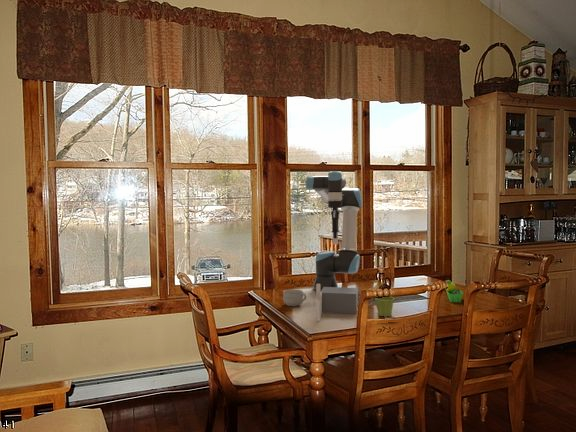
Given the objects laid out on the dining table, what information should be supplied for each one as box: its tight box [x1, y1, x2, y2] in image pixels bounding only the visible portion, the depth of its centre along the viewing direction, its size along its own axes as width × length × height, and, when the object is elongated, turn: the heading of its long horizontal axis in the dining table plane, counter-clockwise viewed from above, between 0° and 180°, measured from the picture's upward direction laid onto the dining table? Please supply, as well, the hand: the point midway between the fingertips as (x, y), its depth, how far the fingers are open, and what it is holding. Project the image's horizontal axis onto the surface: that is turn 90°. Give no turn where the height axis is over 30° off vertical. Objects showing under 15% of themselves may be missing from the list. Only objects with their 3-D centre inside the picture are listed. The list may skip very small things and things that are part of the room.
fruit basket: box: [445, 279, 464, 303], centre depth 255 cm, size 11×9×11 cm
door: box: [315, 284, 323, 322], centre depth 225 cm, size 2×17×17 cm, turn 171°
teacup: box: [282, 289, 307, 307], centre depth 248 cm, size 14×11×8 cm
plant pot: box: [374, 296, 395, 318], centre depth 226 cm, size 9×9×9 cm
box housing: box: [321, 286, 359, 315], centre depth 239 cm, size 14×18×10 cm
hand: (335, 244), depth 250 cm, fingers closed
